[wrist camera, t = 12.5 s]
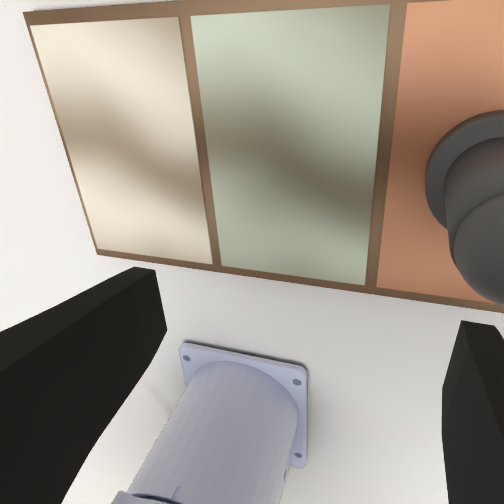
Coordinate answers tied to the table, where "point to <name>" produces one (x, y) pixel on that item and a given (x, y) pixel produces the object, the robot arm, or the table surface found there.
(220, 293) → the table surface
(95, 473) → the table surface
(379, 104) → the game track
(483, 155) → the pawn
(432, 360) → the table surface
